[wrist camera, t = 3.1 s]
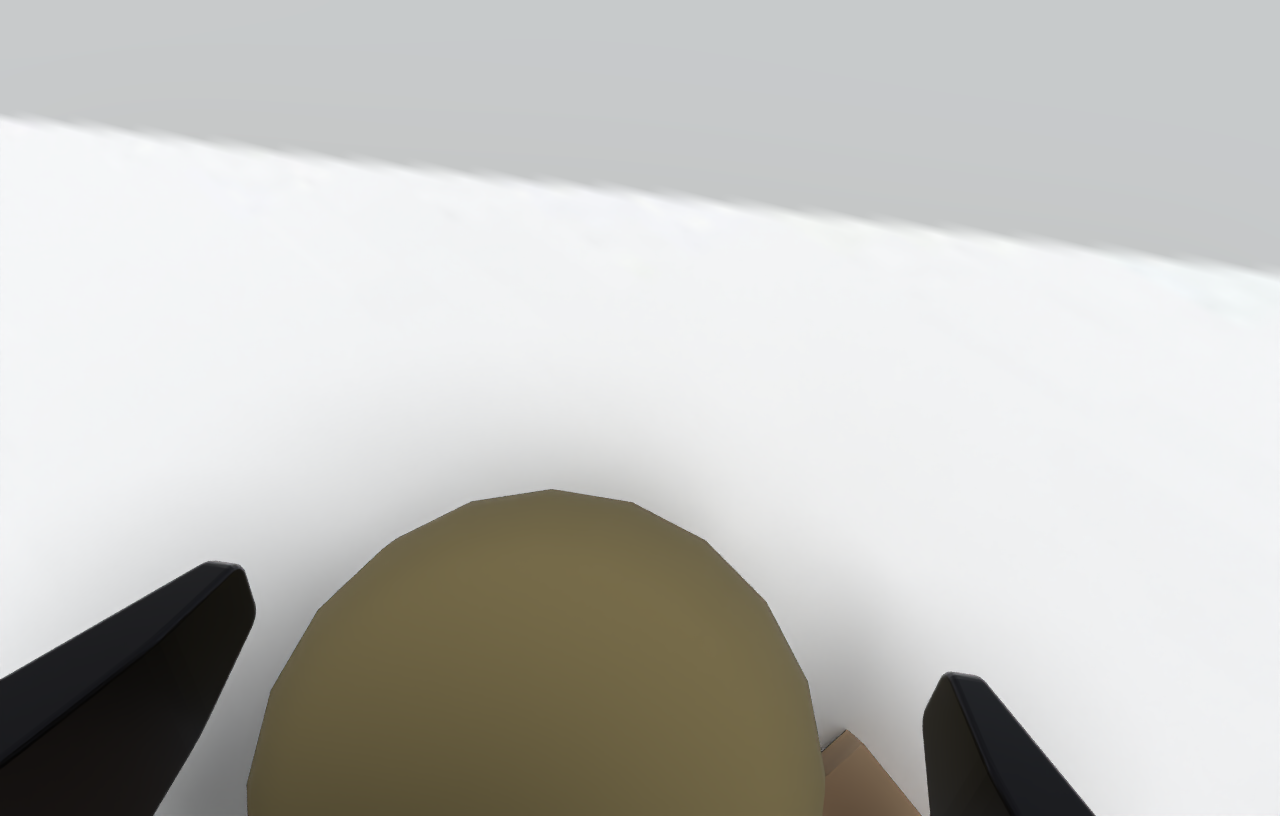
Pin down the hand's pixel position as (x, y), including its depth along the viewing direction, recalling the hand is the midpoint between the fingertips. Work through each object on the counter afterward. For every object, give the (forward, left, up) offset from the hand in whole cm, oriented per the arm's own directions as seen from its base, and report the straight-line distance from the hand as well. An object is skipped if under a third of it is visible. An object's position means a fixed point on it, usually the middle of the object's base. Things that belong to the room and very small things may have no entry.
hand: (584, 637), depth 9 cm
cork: (-1, -1, -7) cm, 7 cm away
